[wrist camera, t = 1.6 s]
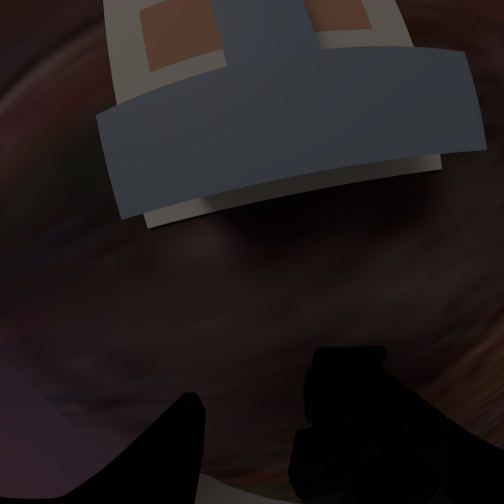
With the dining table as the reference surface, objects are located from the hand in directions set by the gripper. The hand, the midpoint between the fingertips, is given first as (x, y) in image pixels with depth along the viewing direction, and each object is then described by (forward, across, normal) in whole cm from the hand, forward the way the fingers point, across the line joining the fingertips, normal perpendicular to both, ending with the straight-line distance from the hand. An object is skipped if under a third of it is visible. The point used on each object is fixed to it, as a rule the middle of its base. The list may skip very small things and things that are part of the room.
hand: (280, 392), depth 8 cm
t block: (+13, -3, -13) cm, 18 cm away
